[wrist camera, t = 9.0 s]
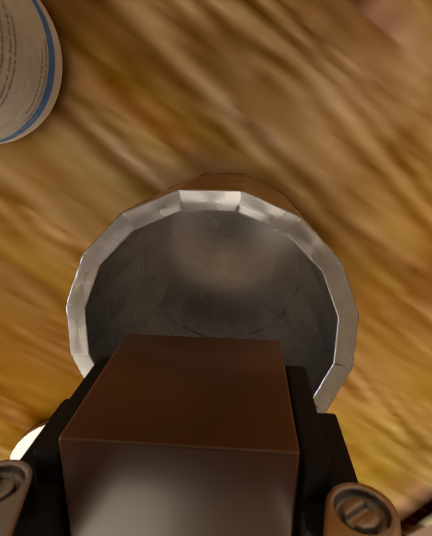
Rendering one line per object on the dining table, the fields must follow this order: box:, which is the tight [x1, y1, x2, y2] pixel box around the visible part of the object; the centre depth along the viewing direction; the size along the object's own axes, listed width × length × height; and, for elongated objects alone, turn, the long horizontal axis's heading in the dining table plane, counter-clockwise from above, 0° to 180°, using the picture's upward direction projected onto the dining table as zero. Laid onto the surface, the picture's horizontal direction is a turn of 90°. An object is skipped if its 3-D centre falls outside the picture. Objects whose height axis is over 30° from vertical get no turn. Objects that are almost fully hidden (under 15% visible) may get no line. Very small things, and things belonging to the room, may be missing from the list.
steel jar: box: [66, 173, 359, 413], centre depth 21 cm, size 12×12×10 cm
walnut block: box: [59, 334, 300, 536], centre depth 10 cm, size 4×4×4 cm
